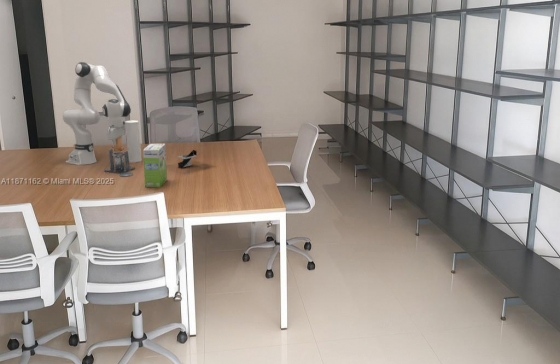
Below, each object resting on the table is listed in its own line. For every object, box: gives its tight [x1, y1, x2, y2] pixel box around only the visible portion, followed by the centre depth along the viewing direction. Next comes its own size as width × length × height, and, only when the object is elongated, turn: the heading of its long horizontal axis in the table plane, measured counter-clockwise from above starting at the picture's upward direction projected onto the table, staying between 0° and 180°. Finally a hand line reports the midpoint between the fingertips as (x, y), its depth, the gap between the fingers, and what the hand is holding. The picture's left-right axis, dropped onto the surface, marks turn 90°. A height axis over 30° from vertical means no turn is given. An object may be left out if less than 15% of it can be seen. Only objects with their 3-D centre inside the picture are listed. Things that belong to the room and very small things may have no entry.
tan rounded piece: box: [111, 137, 125, 152], centre depth 362 cm, size 11×6×9 cm, turn 55°
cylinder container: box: [125, 119, 143, 163], centre depth 389 cm, size 9×9×30 cm
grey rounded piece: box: [118, 171, 134, 178], centre depth 356 cm, size 9×9×1 cm
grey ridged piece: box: [104, 148, 136, 175], centre depth 365 cm, size 15×14×14 cm
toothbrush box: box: [142, 143, 168, 188], centre depth 333 cm, size 18×10×24 cm, turn 178°
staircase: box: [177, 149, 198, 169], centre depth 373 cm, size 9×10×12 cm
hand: (117, 143), depth 362 cm, fingers closed on tan rounded piece, 6 cm apart
